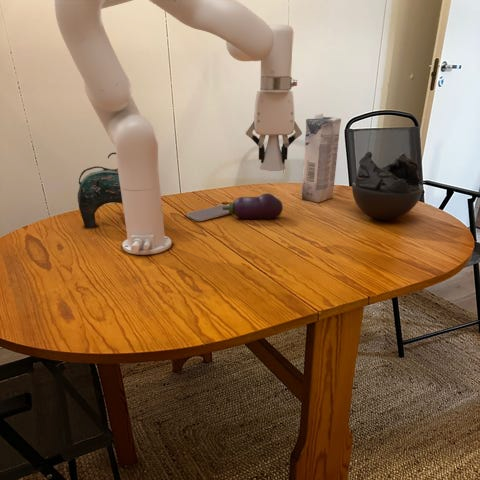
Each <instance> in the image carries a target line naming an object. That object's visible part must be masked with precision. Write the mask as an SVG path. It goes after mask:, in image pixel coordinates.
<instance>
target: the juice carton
mask: <svg viewBox="0 0 480 480" xmlns="http://www.w3.org/2000/svg"><path fill="white" fill-rule="evenodd" d="M341 122H342V119H341V118H340V117H339V118H338V117H333V116H332V117H331V116H324V113H314V114H313V118H306V119H305V134H304V135H305V137H304V150H303V151H304V152H303V167H302V180H301V182H302V183H301V199H302V200H304V201H309V202H312V203H321V202H324V201H326V200H330V199H332V198H333V194H334V189H335V180H336V171H337V161H338V152H339V151H338V150H339V142H340V129H341V124H342V123H341Z"/></svg>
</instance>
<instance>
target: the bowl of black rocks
mask: <svg viewBox="0 0 480 480" xmlns="http://www.w3.org/2000/svg"><path fill="white" fill-rule="evenodd" d="M372 157H373V152H372V151H367V152H366V153H365V154H364V156H363V157H361V158H360V159H359V161H358V164H359V166H358V169H357V174H356V177H355V180H354V181H353V182H352V183H351V185H352V186H351V187H352V188H351V189H352V196H353V199H354V202H355V204H356V205H357V207H358V208H359V210H360V211H361V212H362V213H363V214H365V215H366V216H368V217H370V218H372V219H375V220H378V221H379V220H380V221H389V220H395V219H398V218H401V217H403V216H405V215H407V214H408V213H409V212H410V211H411V210H412V209H413V208H414V207H415V206H416V205H417V204H418V202H419V201H420V199H421V197H422V194H423V192H424V186H423V185H421V184H420V181H421V178H420V176H419V172H418V171H419V169H420V165H419V164H418V163H417V162H416V161H414V160H412V159H411V158H409V157H407V154H406V153H404V152H402V153H400V154H399V155H398V156H397V157H395V158H394V159H393V160H392V161H391V162H388V163H387V164H386V165H383V166H381V167H379V166H378V165H377V163H375V162H374V161H373V159H372Z"/></svg>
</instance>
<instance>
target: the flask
mask: <svg viewBox="0 0 480 480" xmlns="http://www.w3.org/2000/svg"><path fill="white" fill-rule="evenodd" d="M279 136H280V135H268V139H267V142H266V143H267V144H266V147H265V158H264V162H263V163H261V162H260V164H259V166H258V167H259V170H261V171H266V172H267V171H268V172H279V171H284V170H286V169H287V168H286V164H283V162H282V153H281V146H280V137H279Z"/></svg>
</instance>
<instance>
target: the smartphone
mask: <svg viewBox="0 0 480 480" xmlns="http://www.w3.org/2000/svg"><path fill="white" fill-rule="evenodd" d="M223 206H228V205H227V204H219V205H215V206H211V207H207V208H203V209H198V210H195V211H190V212H187V213H186V217H187V218H189V219H192V220H194V221H197V222H204V221H206V220H211V219H215V218H218V217H222V216H227V215H230V214H229V210H223Z"/></svg>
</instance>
